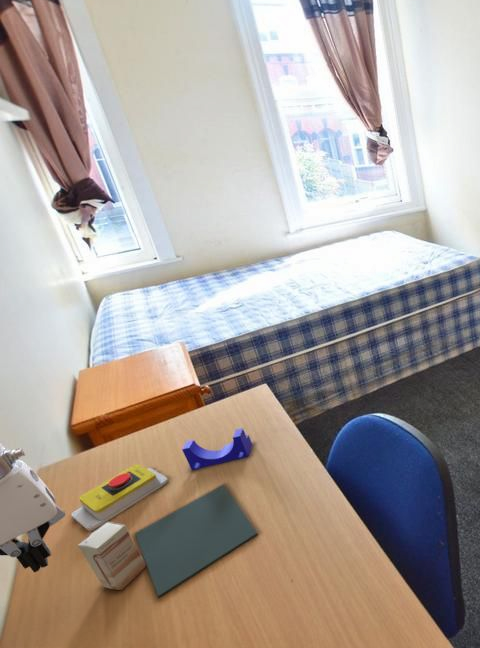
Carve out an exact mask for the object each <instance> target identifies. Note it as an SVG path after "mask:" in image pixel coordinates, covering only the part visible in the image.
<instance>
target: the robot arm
mask: <svg viewBox="0 0 480 648" xmlns="http://www.w3.org/2000/svg"><path fill="white" fill-rule="evenodd" d="M25 456H26V453H25V451H24V450H23V449H22V447H19V448H17V449H12V450H10V449H7V448H6V447H5V446H3V444H2V443H1V442H0V556H8V557H10V558H15V559H17V561H18V562H19V564H20V565H22V567H23V569H25V570H26V569H28V568H30V569H31V571H33V573H37V572H39V571H40V569H41V568H45V567H47V566H49V561H48V557H50V556H52V552H51V550H50V548H49V547H48V546H47V544H46V543H45V541H44V540H43V539H44V537H45V536H46V534H47V532H48V530H49V529H50V528H51V527H52V526H53V525H55V524H56V523H58V522H60V521H61V520H63V518H65V516H66V510H65V509H64V508H63V507H61V506H59V504H57V499H56V497H55V496H54V494H53V493H52V491H51V490H50V489H49V487H48V486H47V485H46V484H45V482H44V481H43V479H41V478H40V476H39V475H38V474H37V473H36V471H34V470H33V469H32V468H31V467H30V466H29V465H27V463H25V462H24V461H22V460H20V458H22V457H25ZM24 534H26V536H27V541H28V542H26V541H21V540H20V539H19V538H18V537H20V536H22V535H24Z"/></svg>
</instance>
